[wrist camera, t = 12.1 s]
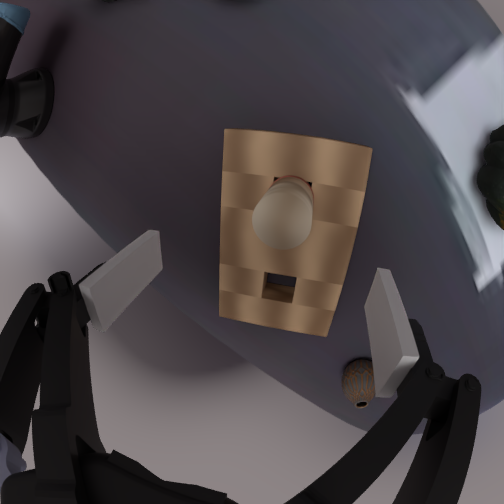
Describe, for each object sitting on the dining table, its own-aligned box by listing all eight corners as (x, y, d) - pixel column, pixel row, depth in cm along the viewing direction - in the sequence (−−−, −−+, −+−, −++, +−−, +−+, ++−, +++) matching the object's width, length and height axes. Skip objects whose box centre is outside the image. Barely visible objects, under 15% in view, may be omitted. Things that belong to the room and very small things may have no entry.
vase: (334, 366, 45) (332, 405, 37) (363, 348, 41) (367, 388, 34) (356, 381, 45) (356, 418, 38) (384, 365, 42) (389, 403, 34)
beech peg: (271, 207, 34) (249, 244, 24) (274, 167, 32) (253, 188, 22) (311, 213, 33) (307, 254, 23) (316, 173, 31) (316, 197, 21)
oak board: (227, 300, 43) (219, 316, 40) (235, 128, 31) (224, 128, 28) (326, 319, 40) (326, 336, 37) (365, 145, 28) (372, 148, 25)
